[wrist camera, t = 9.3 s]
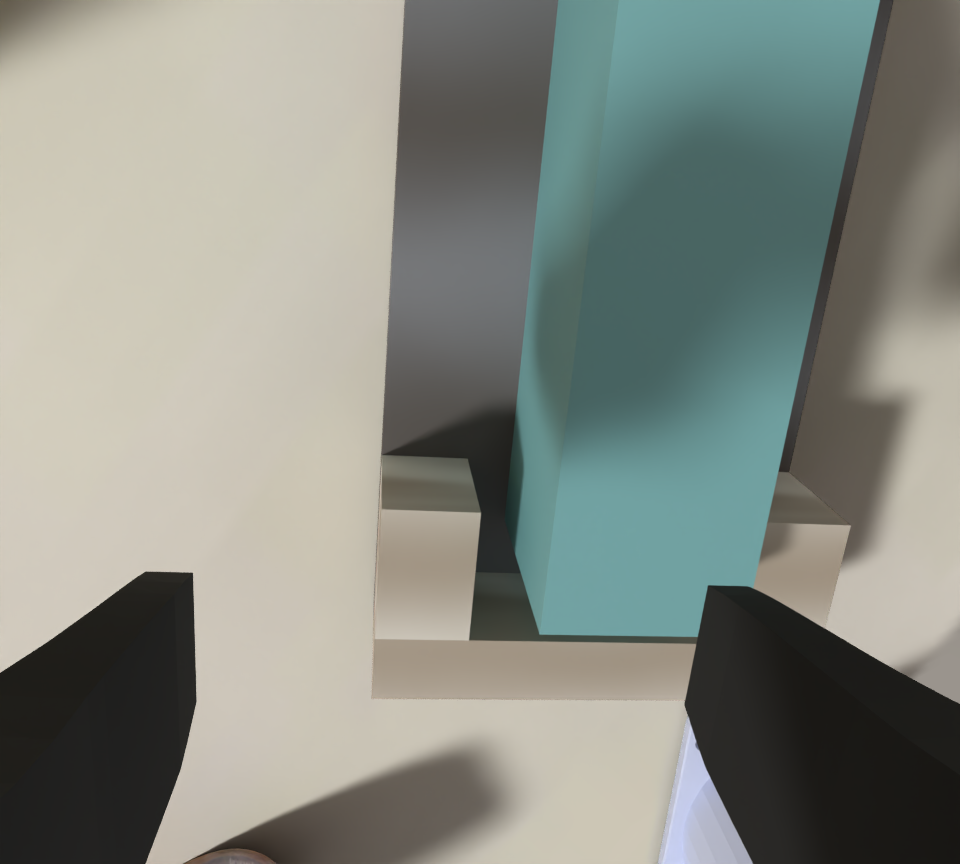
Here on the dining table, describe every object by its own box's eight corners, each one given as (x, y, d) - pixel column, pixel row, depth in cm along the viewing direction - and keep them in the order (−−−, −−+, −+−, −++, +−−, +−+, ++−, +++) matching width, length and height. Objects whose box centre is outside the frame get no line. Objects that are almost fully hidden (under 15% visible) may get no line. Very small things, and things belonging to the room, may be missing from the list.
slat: (663, 524, 21) (742, 637, 16) (504, 519, 21) (539, 634, 16) (796, -251, 16) (968, -408, 11) (587, -284, 15) (676, -461, 11)
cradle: (739, 609, 23) (806, 701, 20) (373, 602, 22) (371, 698, 18) (953, -397, 16) (1124, -554, 12) (429, -494, 15) (445, -701, 11)
